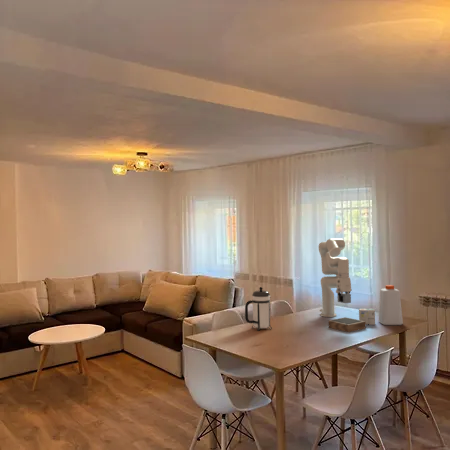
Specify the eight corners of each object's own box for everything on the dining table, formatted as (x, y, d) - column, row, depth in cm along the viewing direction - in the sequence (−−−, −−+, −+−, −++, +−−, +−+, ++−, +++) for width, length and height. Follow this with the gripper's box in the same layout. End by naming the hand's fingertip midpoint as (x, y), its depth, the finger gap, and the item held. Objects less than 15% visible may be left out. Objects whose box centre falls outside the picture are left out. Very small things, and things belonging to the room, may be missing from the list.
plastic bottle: (397, 321, 335) (396, 284, 335) (404, 325, 320) (403, 286, 320) (377, 321, 336) (376, 284, 336) (383, 325, 321) (382, 287, 321)
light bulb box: (373, 322, 332) (373, 308, 332) (375, 324, 325) (375, 310, 325) (358, 322, 333) (358, 308, 333) (360, 324, 326) (360, 310, 326)
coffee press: (255, 325, 330) (254, 285, 330) (275, 327, 322) (274, 286, 322) (245, 330, 315) (244, 288, 315) (265, 332, 307) (265, 289, 307)
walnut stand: (328, 327, 319) (328, 320, 319) (345, 324, 329) (345, 316, 329) (348, 332, 304) (348, 324, 304) (365, 328, 314) (365, 320, 314)
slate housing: (345, 303, 312) (345, 294, 312) (336, 301, 320) (336, 293, 320) (350, 302, 314) (350, 294, 314) (341, 300, 322) (341, 292, 322)
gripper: (338, 277, 309) (339, 303, 309) (356, 275, 318) (356, 300, 318) (330, 276, 316) (331, 301, 316) (348, 274, 324) (348, 299, 324)
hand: (344, 300), depth 317 cm, fingers closed on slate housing, 5 cm apart
